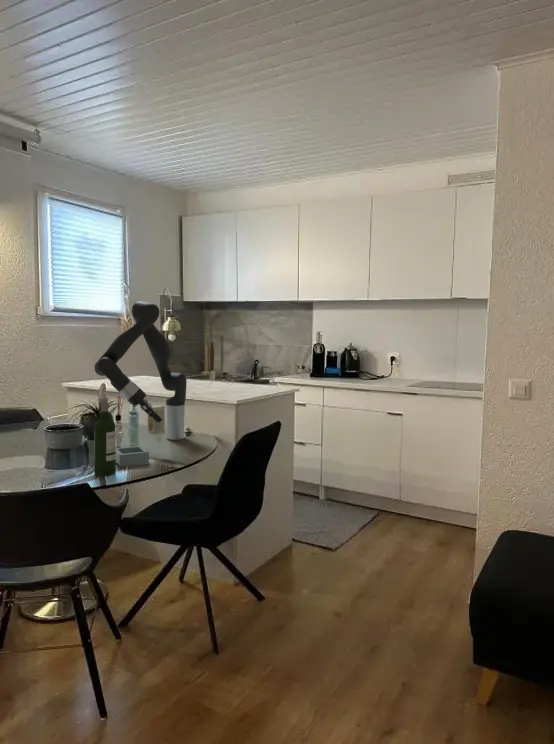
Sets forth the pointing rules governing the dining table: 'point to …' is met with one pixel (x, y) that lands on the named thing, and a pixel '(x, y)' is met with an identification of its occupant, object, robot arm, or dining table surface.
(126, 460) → the ceramic holder
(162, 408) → the skincare box
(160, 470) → the dining table surface
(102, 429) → the wine bottle
